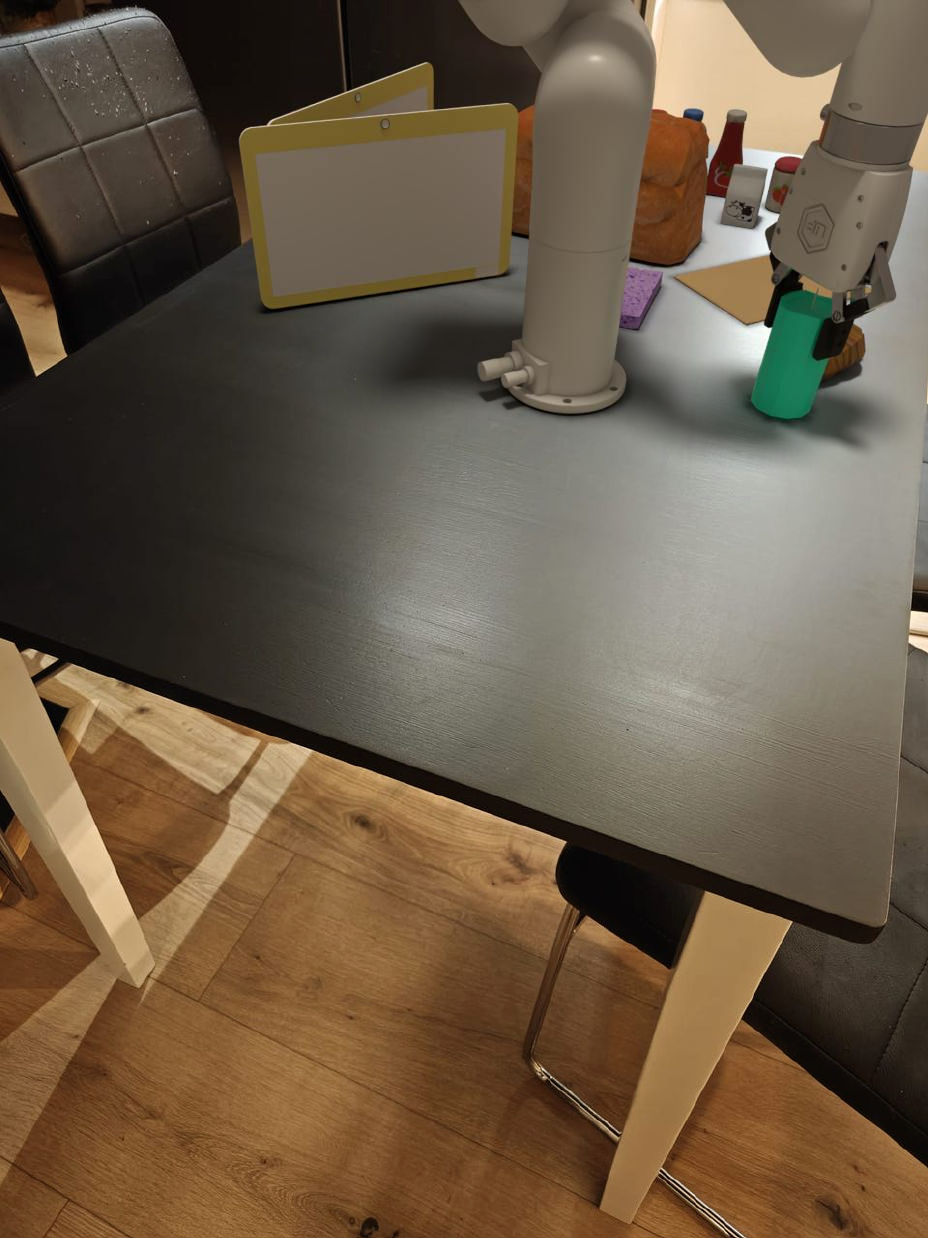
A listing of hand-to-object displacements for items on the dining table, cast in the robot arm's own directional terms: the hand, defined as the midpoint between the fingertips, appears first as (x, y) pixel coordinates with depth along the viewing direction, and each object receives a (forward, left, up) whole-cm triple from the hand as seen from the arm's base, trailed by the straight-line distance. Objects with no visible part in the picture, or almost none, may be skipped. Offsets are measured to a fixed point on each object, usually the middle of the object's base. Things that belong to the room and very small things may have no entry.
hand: (801, 338), depth 86 cm
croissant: (+11, +5, -8) cm, 14 cm away
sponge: (-1, +27, -8) cm, 28 cm away
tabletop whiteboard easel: (-22, +44, -8) cm, 50 cm away
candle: (0, 0, -7) cm, 7 cm away
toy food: (+30, +46, -8) cm, 55 cm away
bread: (+8, +46, -8) cm, 47 cm away
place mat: (+19, +23, -7) cm, 30 cm away
